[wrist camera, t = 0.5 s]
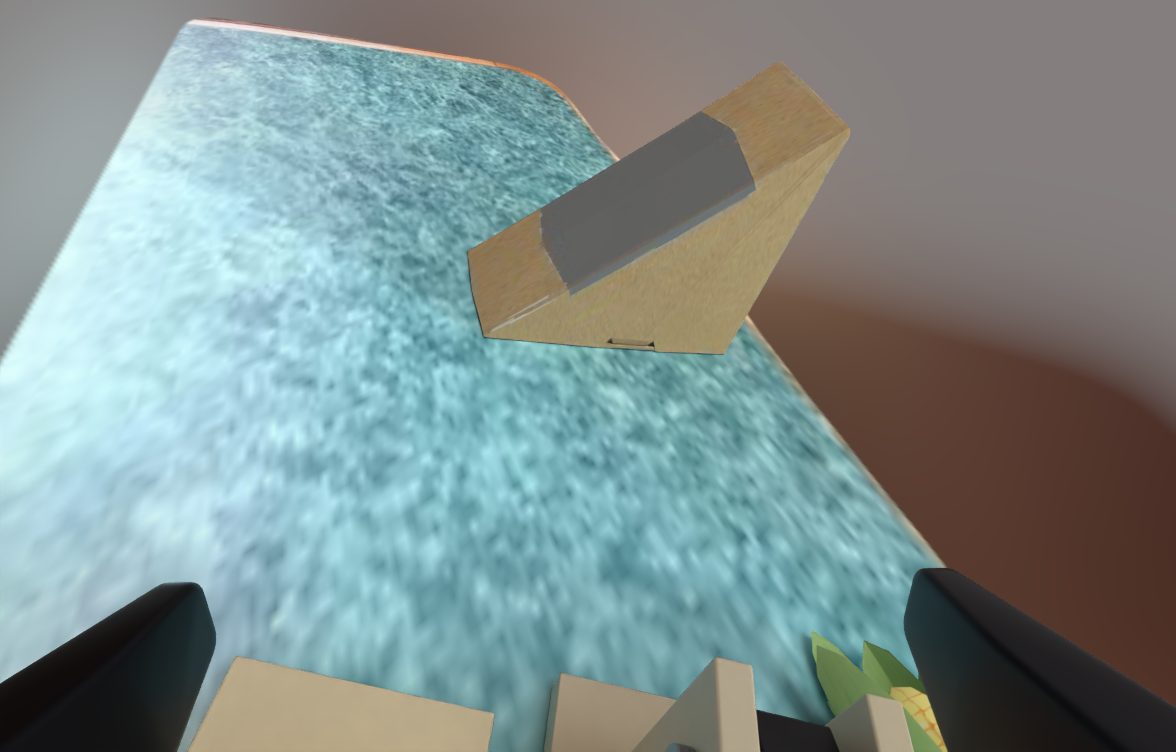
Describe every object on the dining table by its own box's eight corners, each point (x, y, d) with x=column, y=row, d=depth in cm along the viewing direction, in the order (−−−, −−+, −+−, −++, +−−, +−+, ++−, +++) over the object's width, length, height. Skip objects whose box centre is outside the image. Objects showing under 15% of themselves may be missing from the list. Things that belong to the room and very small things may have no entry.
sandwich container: (463, 248, 43) (517, -12, 33) (681, 274, 48) (781, 57, 39) (480, 339, 37) (550, 56, 27) (726, 357, 42) (856, 126, 33)
